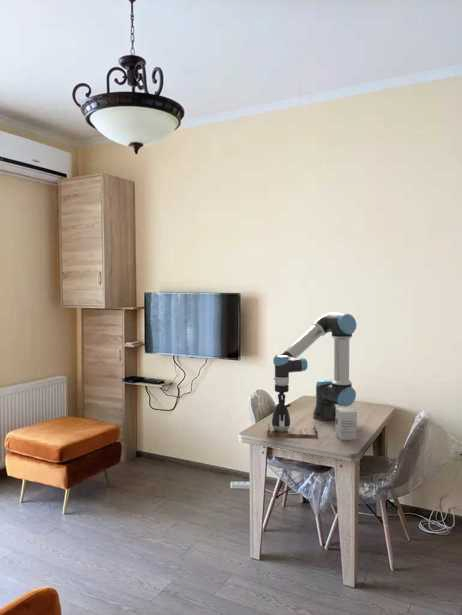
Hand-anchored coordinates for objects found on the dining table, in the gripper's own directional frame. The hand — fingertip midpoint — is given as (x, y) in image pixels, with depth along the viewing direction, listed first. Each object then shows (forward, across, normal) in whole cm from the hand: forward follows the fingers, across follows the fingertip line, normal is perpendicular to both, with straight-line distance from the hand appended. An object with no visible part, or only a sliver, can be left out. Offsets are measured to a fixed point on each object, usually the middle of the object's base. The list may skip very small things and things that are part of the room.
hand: (281, 422), depth 261 cm
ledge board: (+6, 0, +6) cm, 8 cm away
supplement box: (+6, +4, +34) cm, 35 cm away
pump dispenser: (+4, 0, 0) cm, 4 cm away
